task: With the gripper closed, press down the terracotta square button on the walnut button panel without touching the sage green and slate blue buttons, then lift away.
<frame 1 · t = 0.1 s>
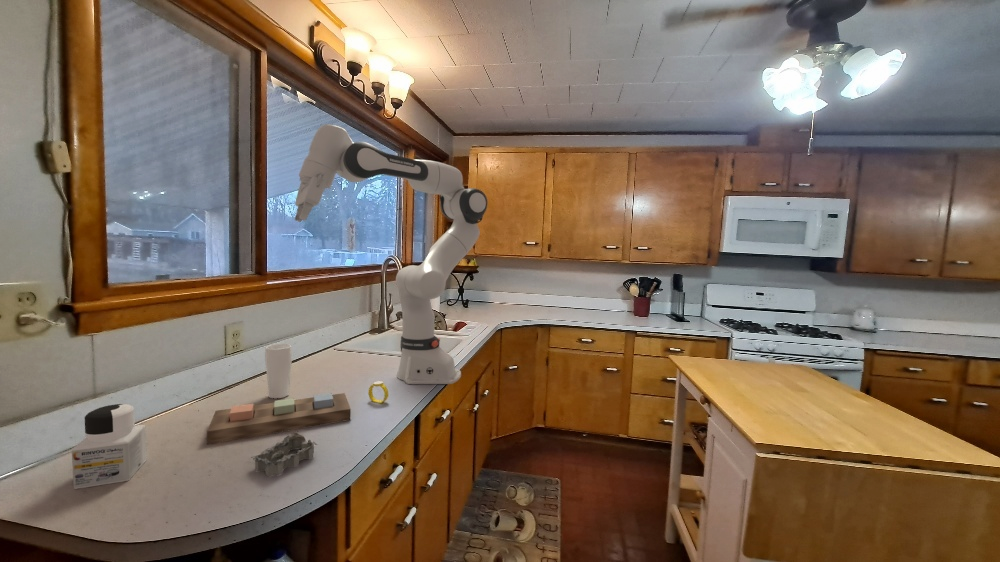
hand: (299, 220, 111), 52 cm above the worktop, tool tilted 20°, fingers open, 8 cm apart
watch: (378, 402, 112), on the worktop
sage button: (284, 408, 97), point 3 cm above the worktop, slide at 0.0 cm
terracotta button: (242, 414, 93), point 3 cm above the worktop, slide at 0.0 cm
container: (112, 475, 73), on the worktop
button panel: (284, 421, 98), on the worktop
slate button: (323, 402, 102), point 3 cm above the worktop, slide at 0.0 cm
egg carton: (286, 463, 80), on the worktop
drinking glass: (279, 396, 114), on the worktop
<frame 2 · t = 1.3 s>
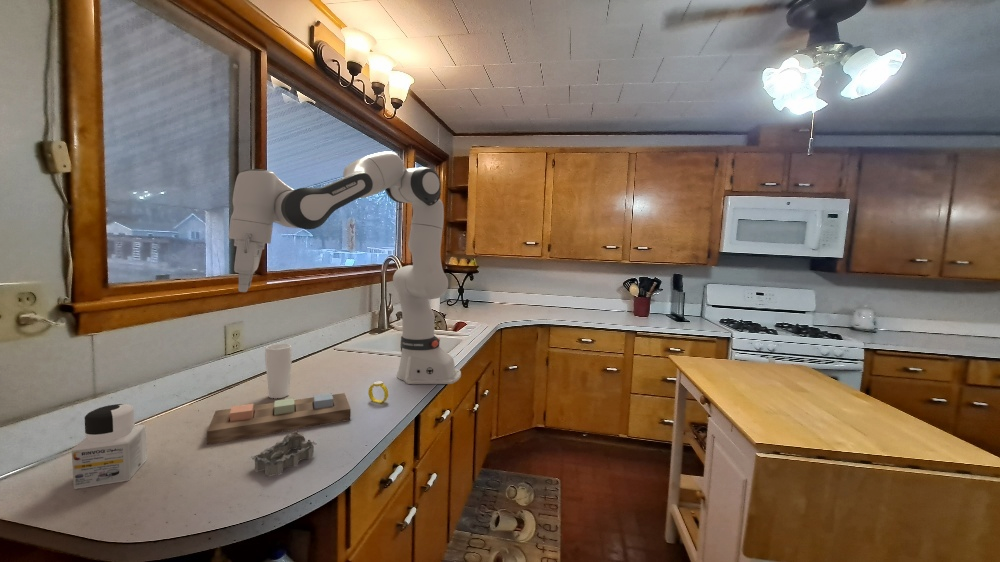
hand: (244, 289, 95), 33 cm above the worktop, tool pointing down, fingers open, 8 cm apart
nothing on the worktop moved.
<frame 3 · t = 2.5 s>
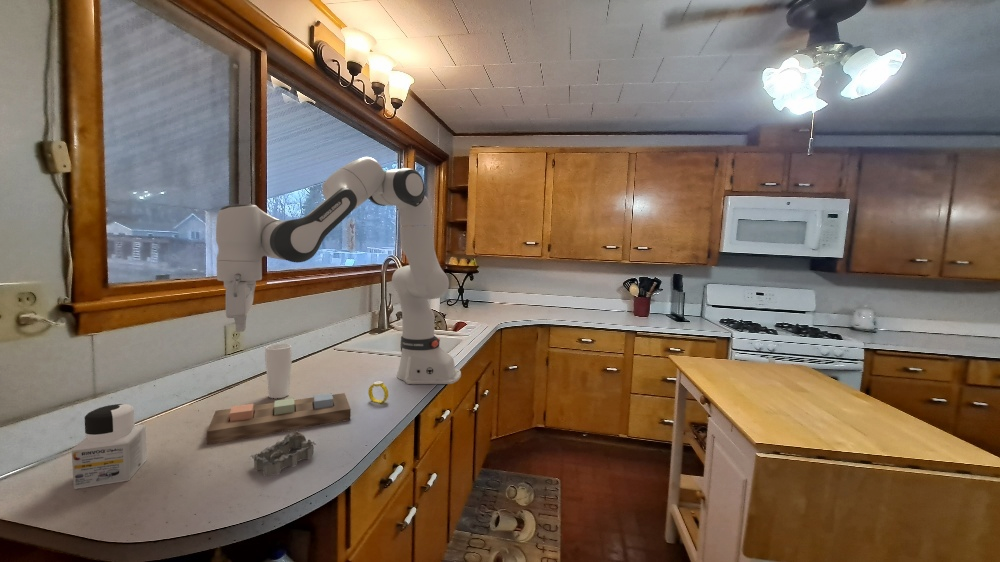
hand: (240, 330, 91), 24 cm above the worktop, tool pointing down, fingers closed
nothing on the worktop moved.
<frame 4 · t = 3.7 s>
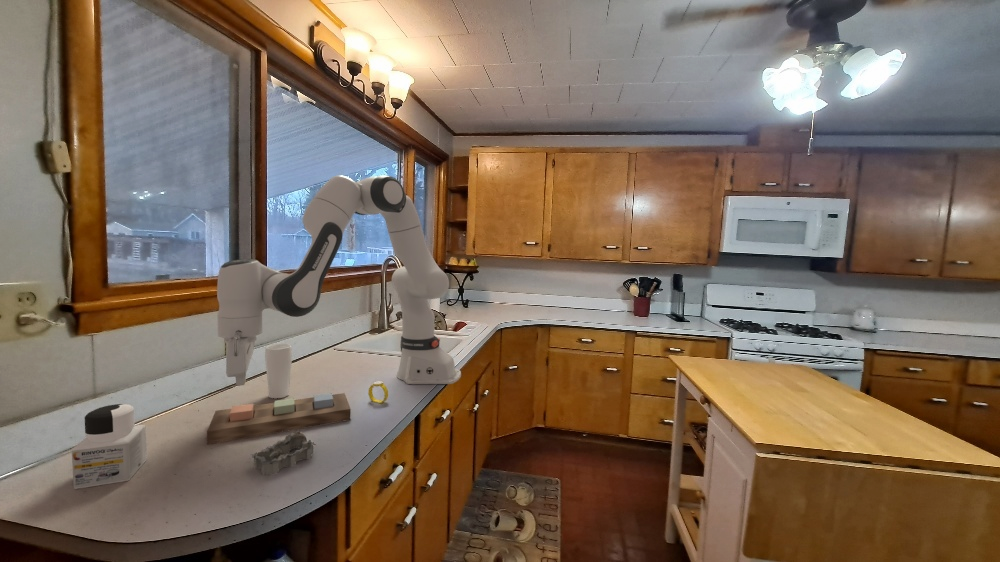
hand: (241, 383, 92), 11 cm above the worktop, tool pointing down, fingers closed
nothing on the worktop moved.
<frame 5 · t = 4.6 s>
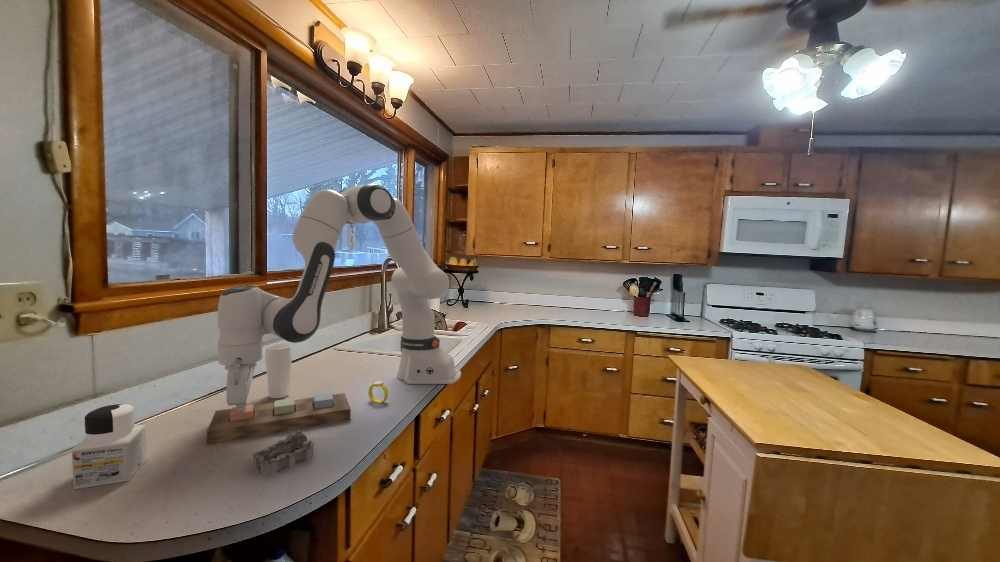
hand: (241, 409, 93), 5 cm above the worktop, tool pointing down, fingers closed, pressing on terracotta button
terracotta button: (242, 415, 93), point 3 cm above the worktop, slide at 0.3 cm, touching gripper
everything else where it was.
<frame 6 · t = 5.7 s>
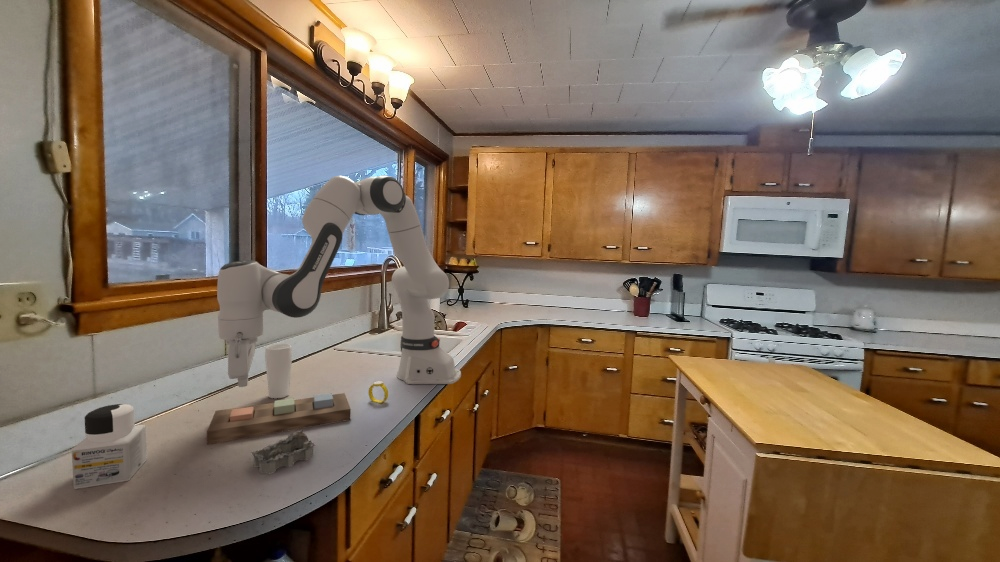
hand: (243, 384, 93), 11 cm above the worktop, tool pointing down, fingers closed
terracotta button: (242, 417, 93), point 3 cm above the worktop, slide at 0.8 cm
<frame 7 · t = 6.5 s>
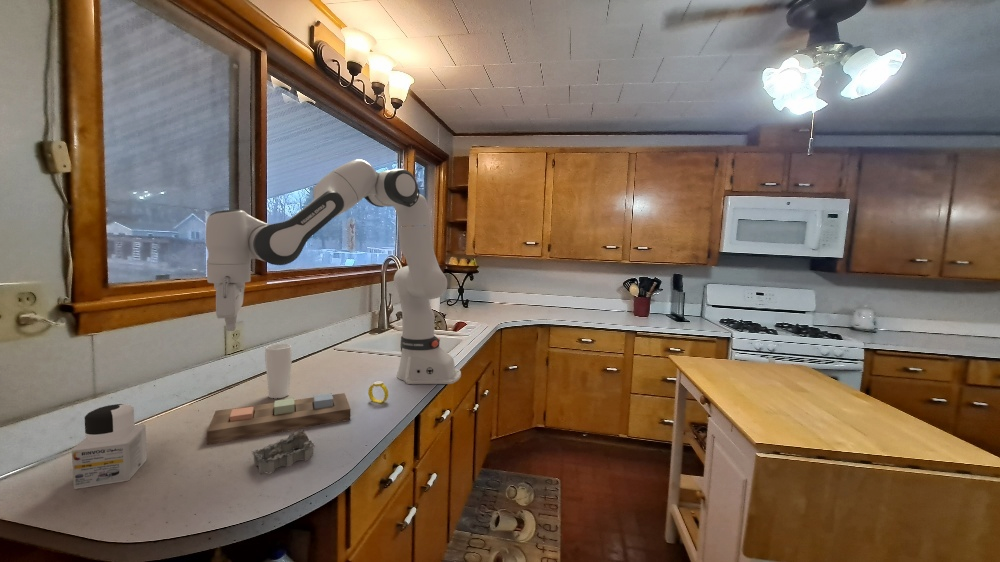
hand: (231, 329, 96), 23 cm above the worktop, tool pointing down, fingers closed
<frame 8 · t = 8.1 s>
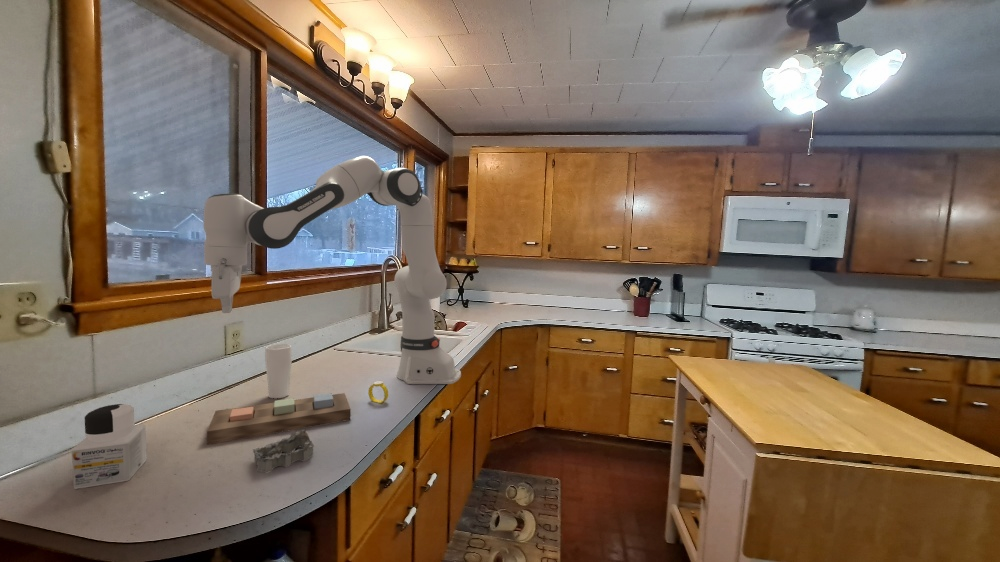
hand: (227, 312, 98), 27 cm above the worktop, tool pointing down, fingers closed
at the end: terracotta button slide at 0.8 cm; sage button slide at 0.0 cm; slate button slide at 0.0 cm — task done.
